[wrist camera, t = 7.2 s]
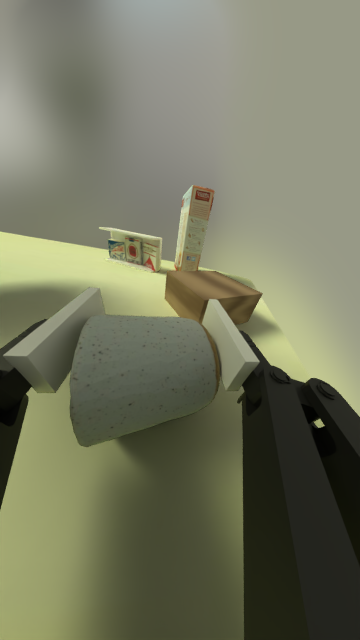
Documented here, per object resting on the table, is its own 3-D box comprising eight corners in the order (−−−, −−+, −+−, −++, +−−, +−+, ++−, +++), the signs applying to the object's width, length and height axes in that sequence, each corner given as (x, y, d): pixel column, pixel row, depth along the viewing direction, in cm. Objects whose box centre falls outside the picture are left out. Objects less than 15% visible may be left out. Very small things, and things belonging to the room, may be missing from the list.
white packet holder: (104, 260, 45) (98, 226, 40) (116, 258, 50) (112, 228, 44) (155, 274, 41) (156, 238, 35) (163, 270, 45) (165, 238, 40)
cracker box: (197, 279, 42) (216, 189, 30) (178, 277, 41) (191, 183, 29) (188, 267, 53) (200, 198, 42) (174, 265, 52) (182, 194, 40)
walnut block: (194, 336, 20) (204, 300, 16) (164, 299, 28) (167, 270, 25) (247, 322, 25) (262, 293, 22) (208, 295, 33) (215, 271, 30)
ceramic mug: (209, 422, 11) (250, 359, 6) (92, 466, 8) (31, 407, 4) (173, 336, 19) (181, 283, 15) (109, 343, 16) (96, 281, 12)
